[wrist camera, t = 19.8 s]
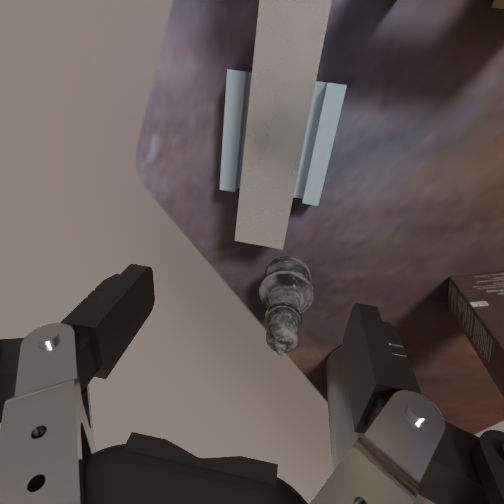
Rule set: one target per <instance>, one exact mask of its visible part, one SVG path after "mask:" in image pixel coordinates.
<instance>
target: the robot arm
mask: <svg viewBox="0 0 504 504" xmlns="http://www.w3.org/2000/svg"><path fill="white" fill-rule="evenodd" d="M153 284H154V283H153V271H152V268H151V267H147V266H141V265H135V264H131V265H129V266H128V267H127V268H126V269H125V270H124V271H123V272H122V273H121V274H120V275H119V274H115V275H113V276H111V277H109V278H107V279H105V280H104V281H103V282H102V283H101V284H100V285H99V286H97V287H96V288H95V291H92V293H90V294H89V295H88V298H85V299H84V300H83V301H82V302H81V303H80V304H79V305H78V306H77V307H76V308H75V309H74V310H73V311H72V312H71V313H70V314H69V315H68V316H67V317H66V318H65V319H64V320H63V321H62V322H61V323H53V324H48V325H45V326H42V327H39V328H37V329H35V330H33V331H32V332H31V333H29V334H28V335H27V336H26V337H25V338H17V339H1V340H0V423H1V429H0V504H308V503H307V502H306V501H305V500H304V499H303V498H302V496H301V495H300V494H299V493H298V492H297V491H296V490H295V489H294V488H292V487H291V486H290V485H288V484H287V483H286V482H284V481H283V480H281V479H280V478H277V467H278V465H277V464H273V463H268V462H264V461H260V460H255V459H251V458H246V457H242V456H237V457H221V458H205V459H202V458H198V457H196V456H194V455H193V454H191V453H189V452H187V451H185V450H184V449H182V448H180V447H178V446H177V445H175V444H173V443H171V442H169V441H168V440H165V439H161V438H156V437H152V436H147V435H143V434H138V433H133V432H132V433H131V435H130V437H129V439H128V441H127V443H126V444H122V445H116V446H111V447H108V448H105V449H102V450H100V451H97V452H96V448H95V442H94V436H93V426H92V415H91V405H90V395H89V387H88V384H89V382H90V380H91V379H92V378H93V377H99V378H103V379H106V378H107V377H108V375H109V374H110V372H111V371H112V369H113V368H114V366H115V365H116V363H117V362H118V360H119V359H120V357H121V356H122V354H123V353H124V351H125V350H126V349H127V347H128V345H129V344H130V343H131V341H132V340H133V338H134V337H135V335H136V334H137V332H138V331H139V329H140V328H141V326H142V325H143V323H144V322H145V320H146V319H147V317H148V316H149V314H150V313H151V311H152V309H153V306H154V300H155V298H154V297H155V296H154V285H153ZM403 346H404V345H403V342H402V340H401V337H400V334H399V333H398V332H397V331H396V329H395V328H394V327H393V326H392V325H391V324H390V323H389V322H383V321H382V320H381V317H380V314H379V311H378V308H377V307H376V306H370V305H364V304H358V303H356V304H355V305H354V307H353V309H352V312H351V315H350V318H349V321H348V324H347V327H346V330H345V333H344V338H343V346H341V347H339V348H337V349H335V350H334V351H333V352H332V353H331V354H330V355H329V357H328V359H327V362H326V377H327V394H328V408H329V423H330V438H331V439H330V440H331V453H332V454H331V455H332V468H333V473H332V474H331V476H330V477H329V478H328V480H327V481H326V482H325V484H324V485H323V486H322V488H321V489H320V491H319V492H318V493H317V495H316V496H315V497H314V499H313V500H312V501H311V503H310V504H504V432H501V431H497V430H489V431H486V432H484V433H483V434H482V435H481V436H480V438H479V437H477V436H475V435H473V434H471V433H469V432H466V431H464V430H462V429H460V428H458V427H456V426H454V425H452V424H450V423H448V422H446V421H445V420H444V418H443V416H442V414H441V412H440V411H439V410H438V408H437V407H436V406H435V405H434V404H433V403H432V402H431V401H430V400H428V399H427V398H426V397H424V396H422V394H421V391H420V388H419V385H418V383H417V380H416V377H415V375H414V372H413V369H412V367H411V364H410V361H409V358H407V353H406V350H405V348H404V347H403Z"/></svg>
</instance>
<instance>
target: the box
mask: <svg viewBox="0 0 504 504" xmlns="http://www.w3.org/2000/svg"><path fill="white" fill-rule="evenodd" d="M448 308H449V309H450V311H451V313H452V314H453V316H454V317H455V319H456V320H457V322H458V324H459V325H460V327H461V328H462V330H463V332H464V333H465V335H466V337H467V338H468V340H469V341H470V343H471V344H472V346H473V348H474V349H475V351H476V353H477V354H478V356H479V358H480V359H481V361H482V363H483V364H484V366H485V367H486V369H487V371H488V372H489V374H490V376H491V377H492V379H493V381H494V382H495V384H496V385H497V387H498V389H499V390H500V392H501V394H502V396H503V397H504V272H496V273H486V274H477V275H466V276H451V277H450V278H449V291H448Z"/></svg>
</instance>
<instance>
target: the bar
mask: <svg viewBox="0 0 504 504" xmlns="http://www.w3.org/2000/svg"><path fill="white" fill-rule="evenodd" d="M331 2H332V0H259V9H258V19H257V28H256V38H255V48H254V57H253V67H252V77H251V86H250V96H249V106H248V115H247V125H246V135H245V145H244V154H243V164H242V174H241V183H240V193H239V203H238V212H237V222H236V232H235V241H239V242H244V243H250V244H255V245H261V246H266V247H271V248H277V249H282V250H283V246H284V241H285V236H286V231H287V226H288V221H289V216H290V211H291V206H292V201H293V196H294V190H295V185H296V180H297V175H298V170H299V165H300V160H301V155H302V150H303V145H304V140H305V135H306V129H307V124H308V119H309V114H310V109H311V104H312V99H313V94H314V89H315V84H316V79H317V74H318V68H319V63H320V58H321V53H322V48H323V43H324V38H325V33H326V28H327V23H328V18H329V13H330V7H331Z"/></svg>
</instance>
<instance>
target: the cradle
mask: <svg viewBox="0 0 504 504" xmlns="http://www.w3.org/2000/svg"><path fill="white" fill-rule="evenodd" d="M251 77H252V72H245V71H238V70H230V69H227V80H226V96H225V111H224V127H223V142H222V157H221V173H220V188H219V190H225V191H231V192H235V191H236V189H237V188H240V183H241V174H242V164H243V154H244V145H245V135H246V125H247V115H248V106H249V96H250V86H251ZM346 88H347V85H342V84H335V83H327V82H319V81H316V84H315V89H314V94H313V99H312V104H311V109H310V114H309V119H308V124H307V129H306V135H305V140H304V145H303V150H302V155H301V160H300V165H299V170H298V175H297V180H296V185H295V190H294V196H293V197H295V198H301V199H302V203H303V204H309V205H315V206H318V205H319V200H320V196H321V192H322V188H323V184H324V179H325V175H326V171H327V167H328V163H329V159H330V154H331V150H332V146H333V142H334V138H335V133H336V129H337V125H338V121H339V117H340V113H341V108H342V104H343V100H344V96H345V92H346Z"/></svg>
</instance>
